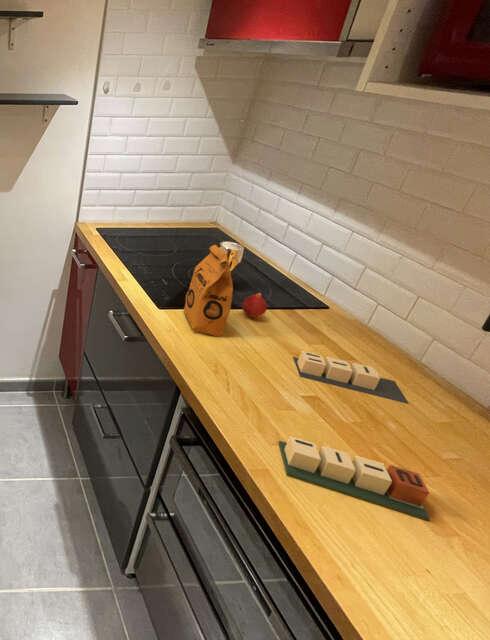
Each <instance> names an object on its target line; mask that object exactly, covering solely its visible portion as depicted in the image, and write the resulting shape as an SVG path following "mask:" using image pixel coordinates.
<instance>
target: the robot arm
mask: <svg viewBox="0 0 490 640" xmlns="http://www.w3.org/2000/svg"><path fill="white" fill-rule="evenodd" d="M481 329H482V331H484V332H487V333H490V313H489V314H488V316H487V317H486V319H485V321H484V323H483V325H482V326H481Z"/></svg>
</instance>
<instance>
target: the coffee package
mask: <svg viewBox="0 0 490 640" xmlns="http://www.w3.org/2000/svg"><path fill="white" fill-rule="evenodd" d="M209 251H210V252H209V254H208V255H206V256H205V257H204V258H203V259H202V260H201V261H200V262H199V263H198V264H197V265H196V266H195V267H194V270H193V273H192V277H191V281H190V283H189V288H188V291H187V292H186V295H185V304H184V308H183V311H184V314H185V316H186V317H185V318H186V319H187V321H188V323H189V325H190V326H191V329H192V330H193V332H194V333H197V334H198V333H199V334H200V333H201V334H204V335H211V336H214V337H222V336H223V332H224V329H225V327H226V323H227V320H228V318H229V316H230V313H231V308H232V302H233V291H234V284H233V278H231V273H230V269H229V263H228V258H227V254H226V253H225V252H223V251H222V250H221V249H220V248H219V245H217V244H214V245H211V246H210V247H209Z"/></svg>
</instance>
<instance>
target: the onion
mask: <svg viewBox="0 0 490 640" xmlns="http://www.w3.org/2000/svg"><path fill="white" fill-rule="evenodd" d="M241 307H242V308H241V309H242V311H243V312H244V314H246V315H247V316H248V317H249V318H252V319H253V318H256V317H257V318H258V317H261V316H263V315H265V314H266V312H267V310H268V304H267V302H266V300H265V299H264V298H263V297H262V293H260V292H257V293H256V294H251V295H249V296H247V297H246V298H244V300H243V301H242V303H241Z"/></svg>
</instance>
